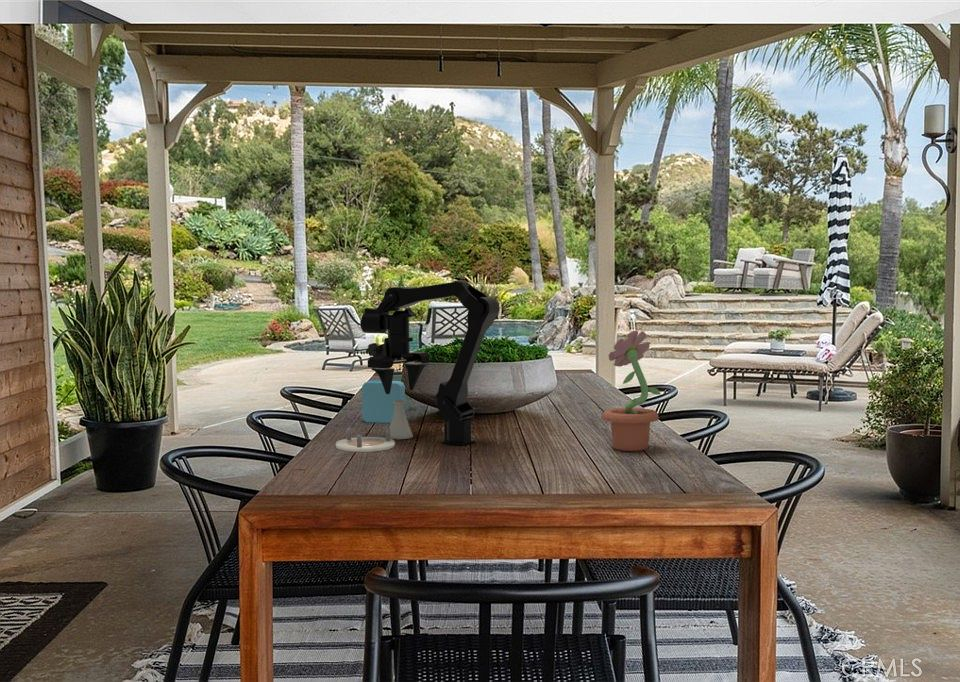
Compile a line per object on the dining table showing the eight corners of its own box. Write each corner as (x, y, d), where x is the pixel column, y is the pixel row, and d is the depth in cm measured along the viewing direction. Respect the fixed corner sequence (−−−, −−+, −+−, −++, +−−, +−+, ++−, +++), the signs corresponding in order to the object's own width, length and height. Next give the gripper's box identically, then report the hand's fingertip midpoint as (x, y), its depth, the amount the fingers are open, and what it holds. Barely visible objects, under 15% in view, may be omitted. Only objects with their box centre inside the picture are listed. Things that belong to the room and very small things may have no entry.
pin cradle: (407, 445, 235) (406, 429, 234) (365, 454, 223) (365, 438, 222) (365, 438, 244) (365, 423, 243) (323, 447, 232) (323, 431, 232)
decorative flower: (639, 441, 239) (640, 327, 236) (673, 450, 227) (675, 330, 224) (591, 446, 232) (592, 329, 230) (623, 456, 220) (625, 332, 217)
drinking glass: (415, 408, 296) (415, 371, 295) (405, 413, 286) (405, 375, 285) (385, 407, 298) (385, 370, 297) (375, 412, 288) (374, 374, 287)
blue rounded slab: (405, 421, 271) (405, 381, 270) (401, 423, 267) (401, 383, 266) (366, 419, 274) (366, 380, 273) (362, 422, 269) (361, 382, 268)
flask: (412, 440, 241) (411, 402, 241) (384, 440, 241) (384, 402, 241) (414, 435, 249) (414, 398, 248) (387, 435, 249) (387, 399, 248)
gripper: (400, 330, 255) (401, 386, 256) (352, 335, 240) (353, 393, 242) (430, 332, 248) (431, 389, 250) (382, 336, 234) (383, 397, 235)
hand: (399, 392), depth 244 cm, fingers open, 9 cm apart
